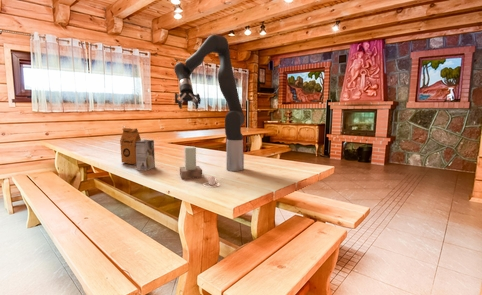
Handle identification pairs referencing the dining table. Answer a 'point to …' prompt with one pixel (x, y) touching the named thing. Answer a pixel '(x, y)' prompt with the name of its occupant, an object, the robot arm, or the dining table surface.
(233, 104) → the robot arm
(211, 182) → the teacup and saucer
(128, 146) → the coffee package
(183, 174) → the walnut plinth
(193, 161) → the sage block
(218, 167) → the dining table surface
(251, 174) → the dining table surface
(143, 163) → the coffee box
